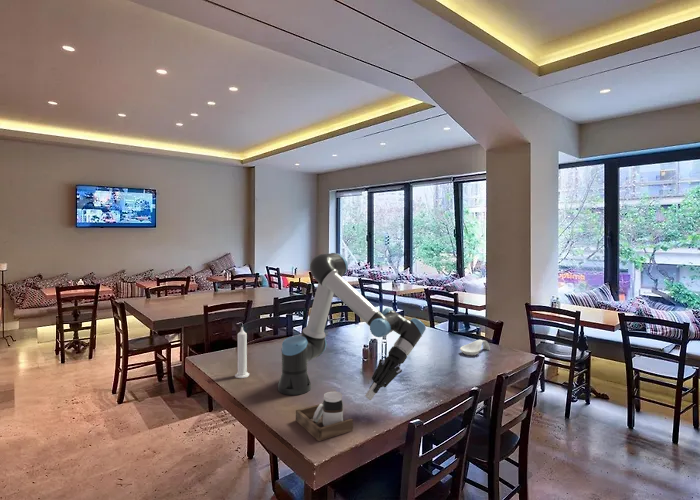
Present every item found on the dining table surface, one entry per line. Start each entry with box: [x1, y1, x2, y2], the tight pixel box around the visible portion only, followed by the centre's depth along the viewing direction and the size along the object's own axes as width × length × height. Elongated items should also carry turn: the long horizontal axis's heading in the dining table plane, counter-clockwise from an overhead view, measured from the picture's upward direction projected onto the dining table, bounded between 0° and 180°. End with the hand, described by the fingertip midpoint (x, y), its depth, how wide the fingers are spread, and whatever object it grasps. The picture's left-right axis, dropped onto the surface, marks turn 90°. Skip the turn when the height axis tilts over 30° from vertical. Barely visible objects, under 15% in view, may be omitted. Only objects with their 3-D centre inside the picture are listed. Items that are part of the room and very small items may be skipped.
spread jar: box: [312, 391, 344, 427], centre depth 149 cm, size 12×11×12 cm
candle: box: [234, 326, 250, 379], centre depth 200 cm, size 7×7×25 cm
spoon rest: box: [459, 339, 491, 357], centre depth 244 cm, size 24×12×7 cm, turn 129°
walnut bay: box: [295, 402, 354, 442], centre depth 148 cm, size 18×14×4 cm
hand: (367, 398), depth 159 cm, fingers closed
